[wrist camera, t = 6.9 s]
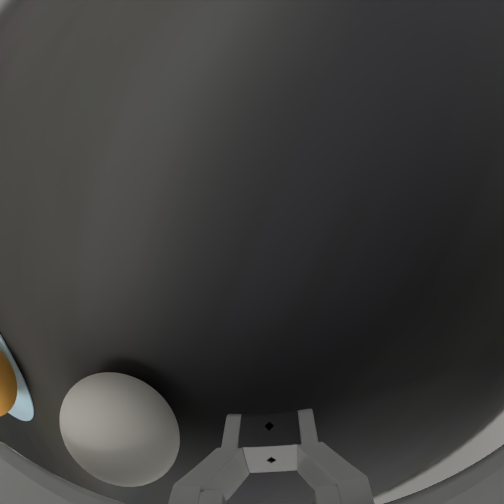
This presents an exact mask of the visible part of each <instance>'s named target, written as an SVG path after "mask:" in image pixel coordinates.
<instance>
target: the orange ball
mask: <svg viewBox="0 0 504 504" xmlns="http://www.w3.org/2000/svg"><path fill="white" fill-rule="evenodd" d="M16 397H17V380H16V376H15V372H14V370H13V368H12V365H11V364H10V362H9V360H8V359H7V357H6V356H5V355H4V354H3V353H2V352H1V351H0V416H2V415H4V414H6V413H7V412H9V411H10V410H11V408H12V407H13V405H14V403H15V401H16Z"/></svg>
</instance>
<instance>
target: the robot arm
mask: <svg viewBox="0 0 504 504" xmlns="http://www.w3.org/2000/svg"><path fill="white" fill-rule="evenodd" d="M293 470H297V472H298V473H299V474H300V475H301V476H302V477H303V478H304V480H305V481H306V482H307V483H308V484H309V485H310V486H311V487H312V488H313V489H314V490H315V496H314V501H313V504H374V500H373V497H372V493H371V489H370V485H369V482H368V478H367V476H366V475H365V474H363V473H362V472H361V471H359V470H358V469H357V468H355V467H354V466H353V465H351V464H350V463H349V462H347V461H346V460H345V459H343V458H342V457H341V456H340V455H338V454H337V453H336V452H335V451H333V450H332V449H331V448H330V447H328V446H327V445H326V444H325V443H324V442H318V437H317V432H316V426H315V420H314V415H313V410H312V409H304V410H298V411H297V410H294V411H285V412H274V413H261V414H228V415H227V417H226V422H225V428H224V434H223V440H222V445H221V448H216V449H215V450H214V451H213V452H212V453H211V454H209V455H208V456H207V457H206V458H205V459H204V460H203V461H201V462H200V463H199V464H198V465H197V466H196V467H194V468H193V469H192V470H191V471H190V472H188V473H187V474H186V475H185V476H184V477H182V478H181V479H180V480H179V481H177V482H176V483H175V484H174V485H173V488H172V492H171V495H170V498H169V502H168V504H228V503H227V500H228V499H229V498H230V497H231V496H232V494H233V493H234V492H235V491H236V490H237V489H238V487H239V486H240V485H241V484H242V483H243V481H244V480H245V479H246V478H247V476H248V475H249V473H258V472H275V471H293ZM0 504H126V503H122V502H119V501H116V500H113V499H110V498H107V497H105V496H102V495H99V494H97V493H94V492H92V491H89V490H87V489H84V488H82V487H80V486H78V485H75V484H73V483H71V482H69V481H67V480H65V479H63V478H61V477H59V476H57V475H55V474H53V473H51V472H49V471H47V470H45V469H44V468H42V467H40V466H38V465H37V464H35V463H33V462H32V461H30V460H28V459H27V458H25V457H24V456H22V455H20V454H19V453H17V452H16V451H14V450H13V449H12V448H10V447H9V446H7V445H6V444H4V443H2V442H0ZM384 504H504V445H502V446H501V447H499V448H498V449H497V450H495V451H494V452H492V453H491V454H489V455H488V456H486V457H484V458H483V459H481V460H480V461H478V462H476V463H475V464H473V465H471V466H470V467H468V468H466V469H464V470H463V471H461V472H459V473H457V474H455V475H453V476H451V477H449V478H447V479H445V480H443V481H441V482H439V483H437V484H435V485H432V486H430V487H428V488H425V489H423V490H421V491H418V492H416V493H413V494H411V495H408V496H405V497H402V498H400V499H397V500H394V501H391V502H388V503H384Z"/></svg>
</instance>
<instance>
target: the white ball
mask: <svg viewBox="0 0 504 504" xmlns="http://www.w3.org/2000/svg"><path fill="white" fill-rule="evenodd" d="M60 430H61V435H62V438H63V441H64V443H65V445H66V447H67V449H68V451H69V453H70V454H71V456H72V457H73V458H74V460H75V461H76V462H77V463H78V464H79V465H80V466H81V467H82V468H83V469H84V470H85V471H87V472H88V473H90V474H91V475H93V476H94V477H96V478H98V479H100V480H102V481H104V482H107V483H110V484H113V485H118V486H124V487H134V486H142V485H145V484H149V483H151V482H153V481H155V480H157V479H159V478H160V477H162V476H163V475H164V474H165V473H166V472H167V471H168V470H169V469H170V468H171V466H172V465H173V463H174V461H175V459H176V457H177V454H178V451H179V445H180V433H179V428H178V423H177V420H176V418H175V415H174V413H173V411H172V409H171V408H170V406H169V405H168V403H167V402H166V400H165V399H164V398H163V397H162V396H161V395H160V394H159V393H158V392H157V391H156V390H155V389H153V388H152V387H151V386H149V385H148V384H146V383H145V382H143V381H141V380H139V379H137V378H135V377H132V376H129V375H126V374H121V373H115V372H104V373H97V374H93V375H90V376H88V377H86V378H84V379H82V380H80V381H79V382H77V383H76V384H75V385H74V386H73V387H72V388H71V389H70V390H69V392H68V393H67V394H66V396H65V398H64V400H63V403H62V406H61V410H60Z"/></svg>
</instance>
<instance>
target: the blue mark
mask: <svg viewBox="0 0 504 504" xmlns="http://www.w3.org/2000/svg"><path fill="white" fill-rule="evenodd" d="M0 351H1V352H2V353H3V354H4V355H5V356H6V357H7V359H8V360H9V362H10V364H11V365H12V368H13V370H14V372H15V376H16V380H17V397H16V401H15V403H14V405H13V407H12V408H11V410H10V411H9V412H8V413H9V414H11V415H12V416H14V417H16V418H18V419H20V420H23V421H29V420H31V419H32V418H33V416H34V404H33V401H32V397H31V395H30V392H29V390H28V387H27V385H26V383H25V380H24V378H23V376H22V374H21V372H20V370H19V368H18V366H17V364H16V362H15V360H14V358H13V356H12V354H11V352H10V350H9V348H8V347H7V345H6V343H5V341H4V339H3V337H2V336H1V334H0Z"/></svg>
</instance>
